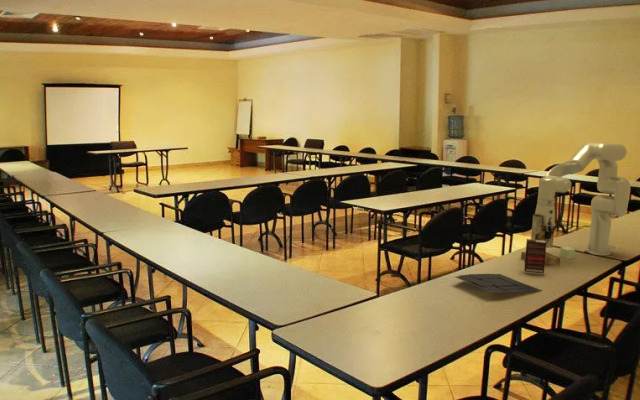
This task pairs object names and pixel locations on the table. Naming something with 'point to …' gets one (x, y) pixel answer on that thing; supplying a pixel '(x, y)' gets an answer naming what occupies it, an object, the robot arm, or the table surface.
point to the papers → (496, 283)
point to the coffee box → (541, 230)
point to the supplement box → (535, 256)
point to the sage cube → (567, 253)
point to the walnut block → (546, 259)
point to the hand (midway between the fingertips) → (542, 236)
